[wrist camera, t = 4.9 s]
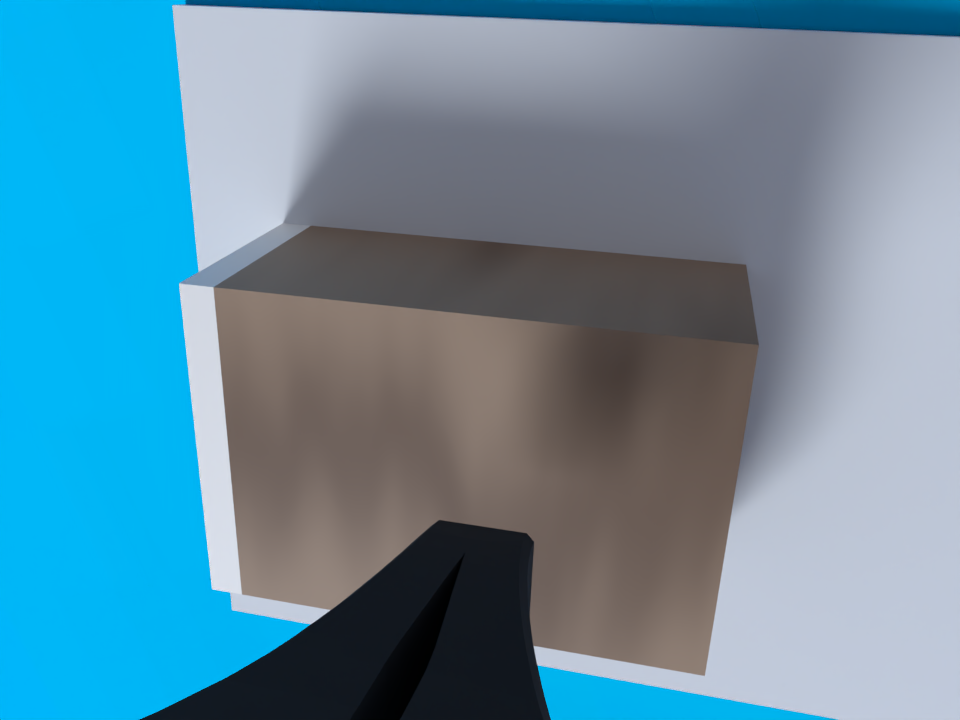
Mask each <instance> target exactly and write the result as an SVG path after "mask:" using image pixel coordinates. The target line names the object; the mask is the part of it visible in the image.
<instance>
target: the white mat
mask: <svg viewBox="0 0 960 720" xmlns="http://www.w3.org/2000/svg"><path fill="white" fill-rule="evenodd" d="M172 6H173V16H174V26H175V36H176V46H177V56H178V67H179V77H180V87H181V97H182V107H183V117H184V127H185V137H186V148H187V158H188V168H189V178H190V188H191V198H192V208H193V218H194V229H195V239H196V249H197V259H198V269H199V272H200V271H202V270H203V269H205V268H207V267H208V266H210V265H212V264H214V263H215V262H217V261H219V260H220V259H222V258H224V257H226V256H227V255H229V254H231V253H233V252H234V251H236V250H238V249H239V248H241V247H243V246H245V245H246V244H248V243H250V242H251V241H253V240H255V239H257V238H258V237H260V236H262V235H263V234H265V233H267V232H269V231H270V230H272V229H274V228H276V227H277V226H279V225H281V224H282V223H287V224H298V225H309V226H321V227H332V228H343V229H354V230H365V231H376V232H387V233H398V234H410V235H421V236H432V237H443V238H454V239H465V240H476V241H488V242H499V243H510V244H521V245H532V246H543V247H554V248H565V249H577V250H588V251H599V252H610V253H621V254H632V255H643V256H655V257H666V258H677V259H688V260H699V261H710V262H721V263H732V264H744V265H746V267H747V273H748V280H749V286H750V292H751V298H752V305H753V311H754V317H755V324H756V330H757V336H758V342H759V348H758V354H757V360H756V366H755V372H754V378H753V385H752V391H751V397H750V403H749V409H748V415H747V421H746V427H745V433H744V440H743V446H742V452H741V458H740V464H739V470H738V476H737V482H736V488H735V495H734V501H733V507H732V513H731V519H730V525H729V531H728V537H727V544H726V550H725V556H724V562H723V568H722V574H721V580H720V586H719V592H718V599H717V605H716V611H715V617H714V623H713V629H712V635H711V641H710V648H709V654H708V660H707V666H706V672H705V676H702V675H696V674H691V673H685V672H679V671H674V670H668V669H662V668H656V667H651V666H645V665H639V664H634V663H628V662H622V661H617V660H611V659H605V658H600V657H594V656H588V655H583V654H577V653H571V652H566V651H560V650H554V649H549V648H543V647H537V646H534V651H535V657H536V662H537V665H540V666H545V667H551V668H556V669H562V670H567V671H573V672H578V673H584V674H589V675H595V676H601V677H606V678H612V679H617V680H623V681H628V682H634V683H639V684H645V685H651V686H656V687H662V688H667V689H673V690H678V691H684V692H689V693H695V694H700V695H706V696H712V697H717V698H723V699H728V700H734V701H739V702H745V703H750V704H756V705H762V706H767V707H773V708H778V709H784V710H789V711H795V712H800V713H806V714H811V715H817V716H823V717H828V718H834V719H839V720H960V36H938V35H913V34H889V33H864V32H840V31H816V30H791V29H767V28H742V27H718V26H693V25H669V24H644V23H620V22H595V21H571V20H547V19H522V18H498V17H473V16H449V15H424V14H400V13H375V12H351V11H326V10H302V9H278V8H253V7H229V6H204V5H172ZM230 593H231V592H230ZM231 603H232V610H234V611H240V612H245V613H251V614H257V615H262V616H268V617H273V618H279V619H284V620H290V621H295V622H301V623H306V624H312V623H314V622H315V621H316V620H318V619H319V618H320V617H322V616H323V615H325V614H326V613H327V612H329V611H330V610H327V609H322V608H316V607H310V606H305V605H299V604H293V603H288V602H282V601H276V600H271V599H265V598H259V597H254V596H248V595H242V594H236V593H231Z"/></svg>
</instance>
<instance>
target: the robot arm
mask: <svg viewBox="0 0 960 720" xmlns="http://www.w3.org/2000/svg"><path fill="white" fill-rule="evenodd" d="M533 554H534V541H533V540H532V539H531V538H530V536H529V535H528V534H527V533H523V532H516V531H509V530H503V529H496V528H490V527H483V526H477V525H470V524H463V523H457V522H450V521H444V520H438V521H437V522H436V523H434V524H433V525H432V526H430V527H429V528H428V529H427V530H426V531H425V532H424V533H422V534H421V535H420V536H419V537H418V538H417V539H416V540H415V541H413V542H412V543H411V544H410V545H409V546H408V547H407V548H406V549H404V550H403V551H402V552H401V553H400V554H399V555H398V556H396V557H395V558H394V559H393V560H392V561H391V562H389V563H388V564H387V565H386V566H385V567H384V568H383V569H381V570H380V571H379V572H378V573H377V574H375V575H374V576H373V577H372V578H370V579H369V580H368V581H367V582H366V583H364V584H363V585H362V586H361V587H359V588H358V589H357V590H356V591H355V592H353V593H352V594H351V595H350V596H348V597H347V598H346V599H345V600H343V601H342V602H341V603H339V604H338V605H337V606H336V607H334V608H333V609H331V610H330V611H329V612H327V613H326V614H325V615H323V616H322V617H320V618H319V619H318V620H316V621H315V622H314V623H312V624H311V625H309V626H308V627H307V628H305V629H304V630H303V631H301V632H300V633H298V634H297V635H296V636H294V637H293V638H291V639H290V640H288V641H287V642H285V643H284V644H282V645H281V646H279V647H278V648H276V649H275V650H273V651H271V652H270V653H268V654H267V655H265V656H263V657H261V658H260V659H258V660H256V661H255V662H253V663H251V664H250V665H248V666H246V667H244V668H243V669H241V670H239V671H238V672H236V673H234V674H232V675H230V676H229V677H227V678H225V679H223V680H221V681H219V682H217V683H215V684H213V685H211V686H209V687H207V688H205V689H203V690H201V691H199V692H197V693H195V694H193V695H191V696H189V697H187V698H185V699H183V700H181V701H179V702H177V703H175V704H173V705H171V706H169V707H167V708H165V709H163V710H160V711H158V712H156V713H154V714H152V715H149V716H147V717H145V718H142V719H140V720H551V719H550V716H549V712H548V708H547V705H546V701H545V697H544V693H543V689H542V685H541V680H540V676H539V671H538V667H537V662H536V657H535V651H534V646H533V639H532V632H531V624H530V602H531V586H532V570H533Z"/></svg>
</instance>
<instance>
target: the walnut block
mask: <svg viewBox="0 0 960 720" xmlns="http://www.w3.org/2000/svg"><path fill="white" fill-rule="evenodd" d="M179 288H180V297H181V306H182V315H183V324H184V334H185V343H186V352H187V361H188V371H189V380H190V389H191V398H192V407H193V417H194V426H195V435H196V444H197V454H198V463H199V472H200V481H201V490H202V500H203V509H204V518H205V527H206V537H207V546H208V555H209V564H210V573H211V583H212V589H214V590H219V591H225V592H231V593H236V594H242V595H248V596H254V597H259V598H265V599H271V600H276V601H282V602H288V603H293V604H299V605H305V606H310V607H316V608H322V609H327V610H331V609H333V608H334V607H336V606H337V605H338V604H339V603H341V602H342V601H343V600H345V599H346V598H347V597H348V596H350V595H351V594H352V593H353V592H355V591H356V590H357V589H358V588H359V587H361V586H362V585H363V584H364V583H366V582H367V581H368V580H369V579H370V578H372V577H373V576H374V575H375V574H377V573H378V572H379V571H380V570H381V569H383V568H384V567H385V566H386V565H387V564H388V563H389V562H391V561H392V560H393V559H394V558H395V557H396V556H398V555H399V554H400V553H401V552H402V551H403V550H404V549H406V548H407V547H408V546H409V545H410V544H411V543H412V542H413V541H415V540H416V539H417V538H418V537H419V536H420V535H421V534H422V533H424V532H425V531H426V530H427V529H428V528H429V527H430V526H432V525H433V524H434V523H436V522H437V521H438V520H444V521H450V522H457V523H463V524H470V525H477V526H483V527H490V528H496V529H503V530H509V531H516V532H523V533H527V534H528V535H529V536H530V538H531V539H532V540H533V541H534V554H533V570H532V586H531V602H530V624H531V632H532V639H533V646H537V647H543V648H549V649H554V650H560V651H566V652H571V653H577V654H583V655H588V656H594V657H600V658H605V659H611V660H617V661H622V662H628V663H634V664H639V665H645V666H651V667H656V668H662V669H668V670H674V671H679V672H685V673H691V674H696V675H702V676H705V672H706V666H707V660H708V654H709V648H710V641H711V635H712V629H713V623H714V617H715V611H716V605H717V599H718V592H719V586H720V580H721V574H722V568H723V562H724V556H725V550H726V544H727V537H728V531H729V525H730V519H731V513H732V507H733V501H734V495H735V488H736V482H737V476H738V470H739V464H740V458H741V452H742V446H743V440H744V433H745V427H746V421H747V415H748V409H749V403H750V397H751V391H752V385H753V378H754V372H755V366H756V360H757V354H758V348H759V342H758V336H757V330H756V324H755V317H754V311H753V305H752V298H751V292H750V286H749V280H748V273H747V267H746V265H744V264H732V263H721V262H710V261H699V260H688V259H677V258H666V257H655V256H643V255H632V254H621V253H610V252H599V251H588V250H577V249H565V248H554V247H543V246H532V245H521V244H510V243H499V242H488V241H476V240H465V239H454V238H443V237H432V236H421V235H410V234H398V233H387V232H376V231H365V230H354V229H343V228H332V227H321V226H309V225H298V224H287V223H282V224H281V225H279V226H277V227H276V228H274V229H272V230H270V231H269V232H267V233H265V234H263V235H262V236H260V237H258V238H257V239H255V240H253V241H251V242H250V243H248V244H246V245H245V246H243V247H241V248H239V249H238V250H236V251H234V252H233V253H231V254H229V255H227V256H226V257H224V258H222V259H220V260H219V261H217V262H215V263H214V264H212V265H210V266H208V267H207V268H205V269H203V270H202V271H200V272H198V273H196V274H195V275H193V276H191V277H190V278H188V279H186V280H184V281H183V282H181V283H179Z"/></svg>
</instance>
